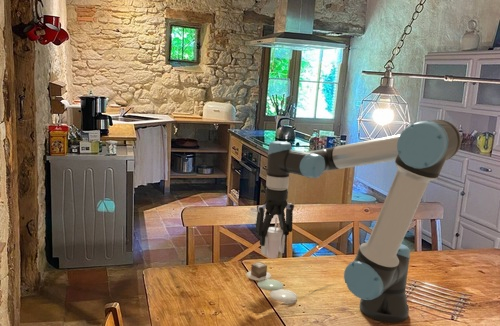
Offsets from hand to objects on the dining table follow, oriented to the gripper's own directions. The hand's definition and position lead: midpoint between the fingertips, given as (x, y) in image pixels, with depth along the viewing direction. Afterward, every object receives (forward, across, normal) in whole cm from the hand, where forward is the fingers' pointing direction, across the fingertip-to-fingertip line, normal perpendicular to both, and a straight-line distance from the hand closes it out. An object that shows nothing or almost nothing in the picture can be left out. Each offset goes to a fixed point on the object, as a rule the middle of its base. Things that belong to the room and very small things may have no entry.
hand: (272, 252), depth 158 cm
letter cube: (+12, 0, -8) cm, 14 cm away
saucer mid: (+13, 0, 0) cm, 13 cm away
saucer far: (+13, 0, -8) cm, 15 cm away
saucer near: (+13, 0, +9) cm, 16 cm away
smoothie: (+2, 0, 0) cm, 2 cm away
